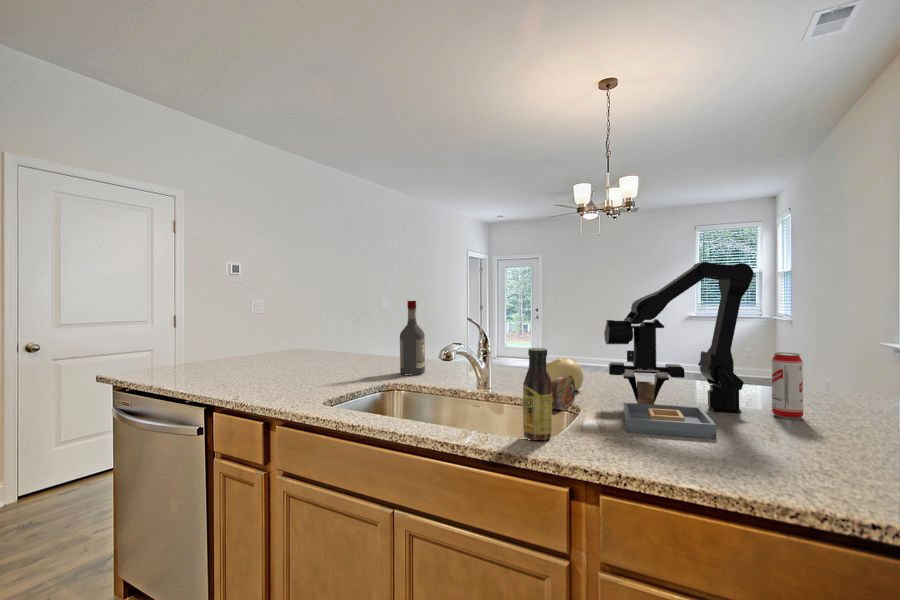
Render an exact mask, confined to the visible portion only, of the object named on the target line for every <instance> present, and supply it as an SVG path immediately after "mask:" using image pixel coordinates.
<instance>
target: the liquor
mask: <svg viewBox="0 0 900 600" xmlns="http://www.w3.org/2000/svg"><path fill="white" fill-rule="evenodd" d="M425 339H426V338H425V332H424V330H423V329H422V328H421V327H420V326H419V325H418V322H417V300H407V322H406V326H404V328H403V329H402V330H401V332H400V334H399V352H400V353H399V364H400V366H399V368H400V369H399V371H400V374H401V373H402V374H412V375H411V376H421V375H420V374H422V375H424V373H425V371H426V359H425V358H426V354H425V353H426V350H425V348H426V347H425V345H426V344H425V343H426V341H425ZM402 374H401V375H402Z"/></svg>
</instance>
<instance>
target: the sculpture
mask: <svg viewBox="0 0 900 600" xmlns="http://www.w3.org/2000/svg"><path fill="white" fill-rule="evenodd" d="M546 366H547V368H546V371H547V372H548V374H549V376H550V378H551V382H552V381H553V380H555V379H557V378H559V377H561V376H569V375H570V376H572V378H573V380H574V384H575V391H578V390H579V389H580V388H581V387H582V386H583V382H584V371H583V370H582V368H581V365H579V364H578V363H577V361H576V360H574V359H573V358H568V357H557V358H556V359H554V360H552V361H548V362H546Z"/></svg>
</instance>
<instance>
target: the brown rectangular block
mask: <svg viewBox="0 0 900 600" xmlns="http://www.w3.org/2000/svg"><path fill="white" fill-rule="evenodd" d="M636 386H637V393H638V401H636V403H637V404H654V405H655V402H654V382H653V381H639V380H636Z"/></svg>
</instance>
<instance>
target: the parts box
mask: <svg viewBox="0 0 900 600" xmlns="http://www.w3.org/2000/svg"><path fill="white" fill-rule="evenodd" d="M623 417H624V423H625V428H626V431H627V433H636V434H637V433H638V434H639V433H640V434H650V435H652V434H653V435H654V434H655V435H661V436H662V435H663V436H664V435H665V436H675V437H676V436H677V437H691V438H703V439H704V438H705V439H716V440H717V438H718V437H717V424H716V423H715V422H714V421H713V419H712V418H711V417H710V416H709V415H708V414H707V413H706V412H705V411H704V410H703V408H702V407H701V406H686V405H668V404H667V405H666V404H655V403H654V404H637V402H636V403H635V402H633V403H632V402H623Z"/></svg>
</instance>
